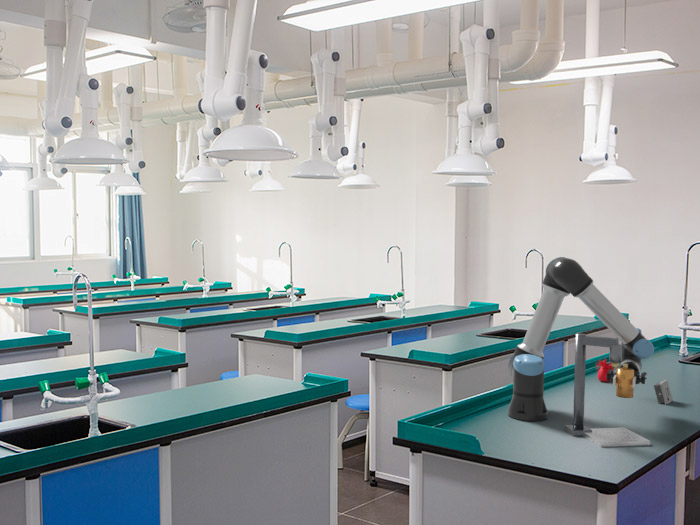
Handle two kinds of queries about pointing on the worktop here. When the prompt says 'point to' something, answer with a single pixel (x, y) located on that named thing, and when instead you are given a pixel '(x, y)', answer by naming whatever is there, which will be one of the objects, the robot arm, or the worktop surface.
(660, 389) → the electrical switch
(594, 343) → the arbor press
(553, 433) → the worktop surface
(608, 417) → the worktop surface
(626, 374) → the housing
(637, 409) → the worktop surface
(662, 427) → the worktop surface
